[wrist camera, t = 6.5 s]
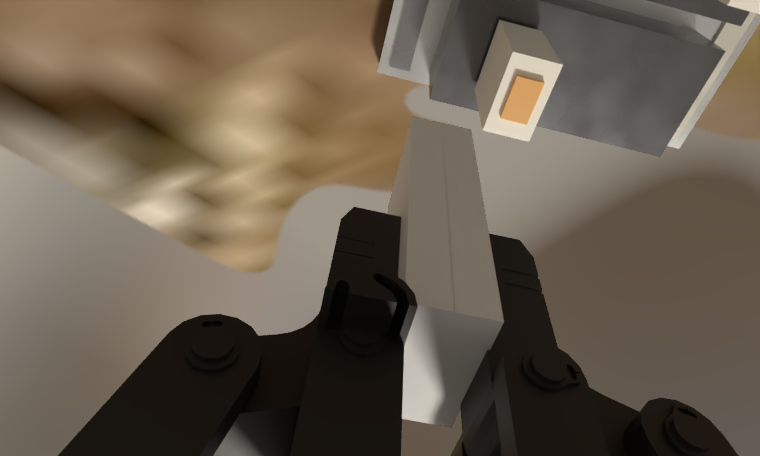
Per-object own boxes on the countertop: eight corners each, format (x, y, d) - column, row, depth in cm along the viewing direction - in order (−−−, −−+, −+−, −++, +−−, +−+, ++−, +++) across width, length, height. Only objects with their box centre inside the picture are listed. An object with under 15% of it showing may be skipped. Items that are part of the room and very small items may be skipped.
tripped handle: (499, 19, 21) (513, 53, 18) (542, 31, 21) (564, 66, 18) (474, 89, 23) (483, 132, 20) (514, 100, 23) (529, 144, 20)
